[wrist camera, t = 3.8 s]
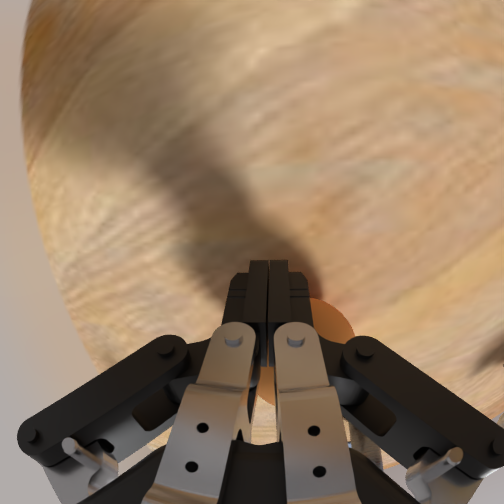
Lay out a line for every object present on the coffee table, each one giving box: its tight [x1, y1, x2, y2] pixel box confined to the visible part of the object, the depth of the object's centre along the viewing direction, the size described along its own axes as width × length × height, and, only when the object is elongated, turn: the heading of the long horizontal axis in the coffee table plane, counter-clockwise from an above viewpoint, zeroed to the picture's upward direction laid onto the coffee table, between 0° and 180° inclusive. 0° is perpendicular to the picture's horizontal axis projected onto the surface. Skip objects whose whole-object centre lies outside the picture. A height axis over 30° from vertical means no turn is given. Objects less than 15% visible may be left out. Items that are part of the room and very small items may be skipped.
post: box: [349, 422, 383, 471], centre depth 18 cm, size 3×3×9 cm
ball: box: [258, 298, 355, 406], centre depth 13 cm, size 6×6×6 cm
